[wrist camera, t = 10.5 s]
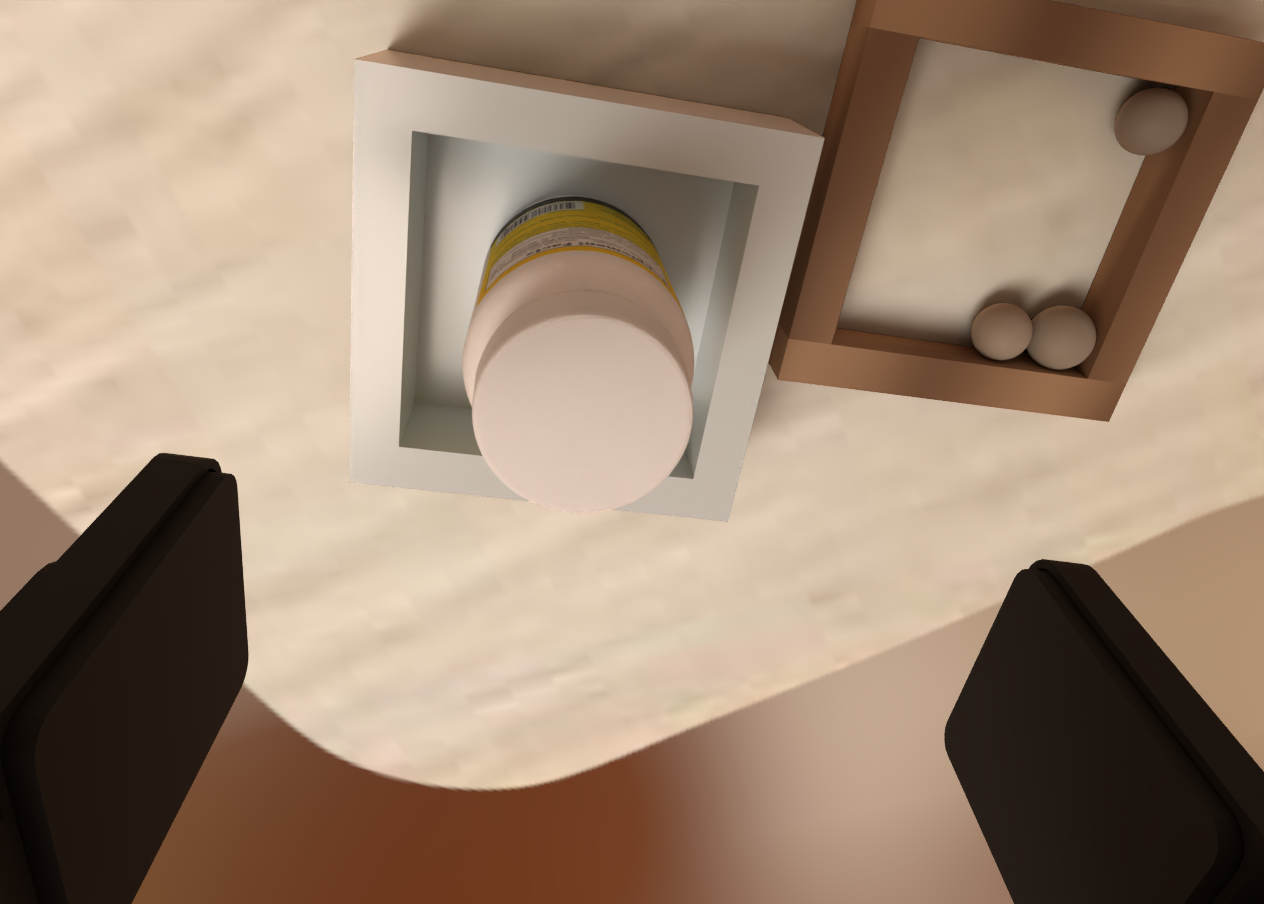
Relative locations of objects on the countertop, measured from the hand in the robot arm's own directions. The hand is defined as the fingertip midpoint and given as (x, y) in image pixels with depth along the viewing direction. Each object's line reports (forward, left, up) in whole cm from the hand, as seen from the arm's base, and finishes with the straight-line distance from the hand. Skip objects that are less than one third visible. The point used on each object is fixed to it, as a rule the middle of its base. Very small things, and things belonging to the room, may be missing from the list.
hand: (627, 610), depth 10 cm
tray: (-10, -3, -15) cm, 18 cm away
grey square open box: (+1, 0, -15) cm, 15 cm away
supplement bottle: (+1, 0, -14) cm, 14 cm away
